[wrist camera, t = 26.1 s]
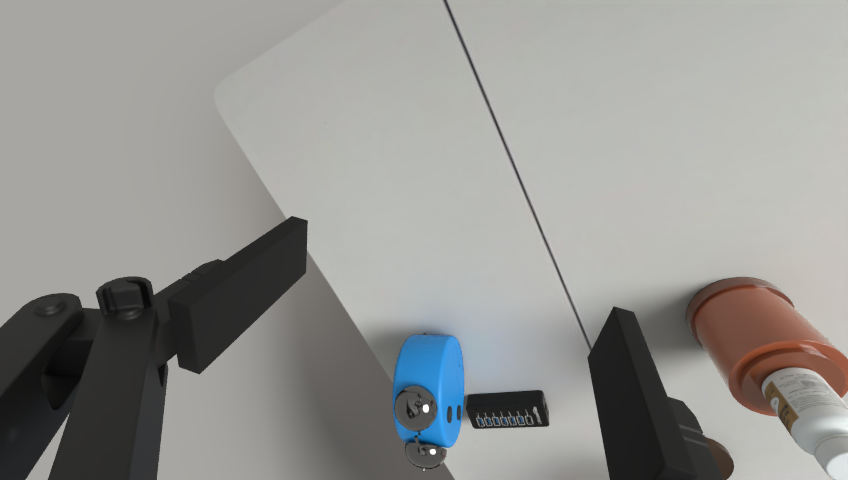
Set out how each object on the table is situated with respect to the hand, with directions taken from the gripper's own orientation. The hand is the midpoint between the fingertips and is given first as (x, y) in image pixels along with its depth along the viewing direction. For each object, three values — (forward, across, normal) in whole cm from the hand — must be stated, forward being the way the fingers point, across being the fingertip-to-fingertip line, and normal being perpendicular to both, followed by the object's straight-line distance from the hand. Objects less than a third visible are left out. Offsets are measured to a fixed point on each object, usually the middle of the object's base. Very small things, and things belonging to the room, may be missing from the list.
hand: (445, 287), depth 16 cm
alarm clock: (+29, 0, -30) cm, 41 cm away
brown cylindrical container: (+29, +30, -12) cm, 43 cm away
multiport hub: (+29, +11, -36) cm, 47 cm away
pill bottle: (+18, +30, -12) cm, 37 cm away
